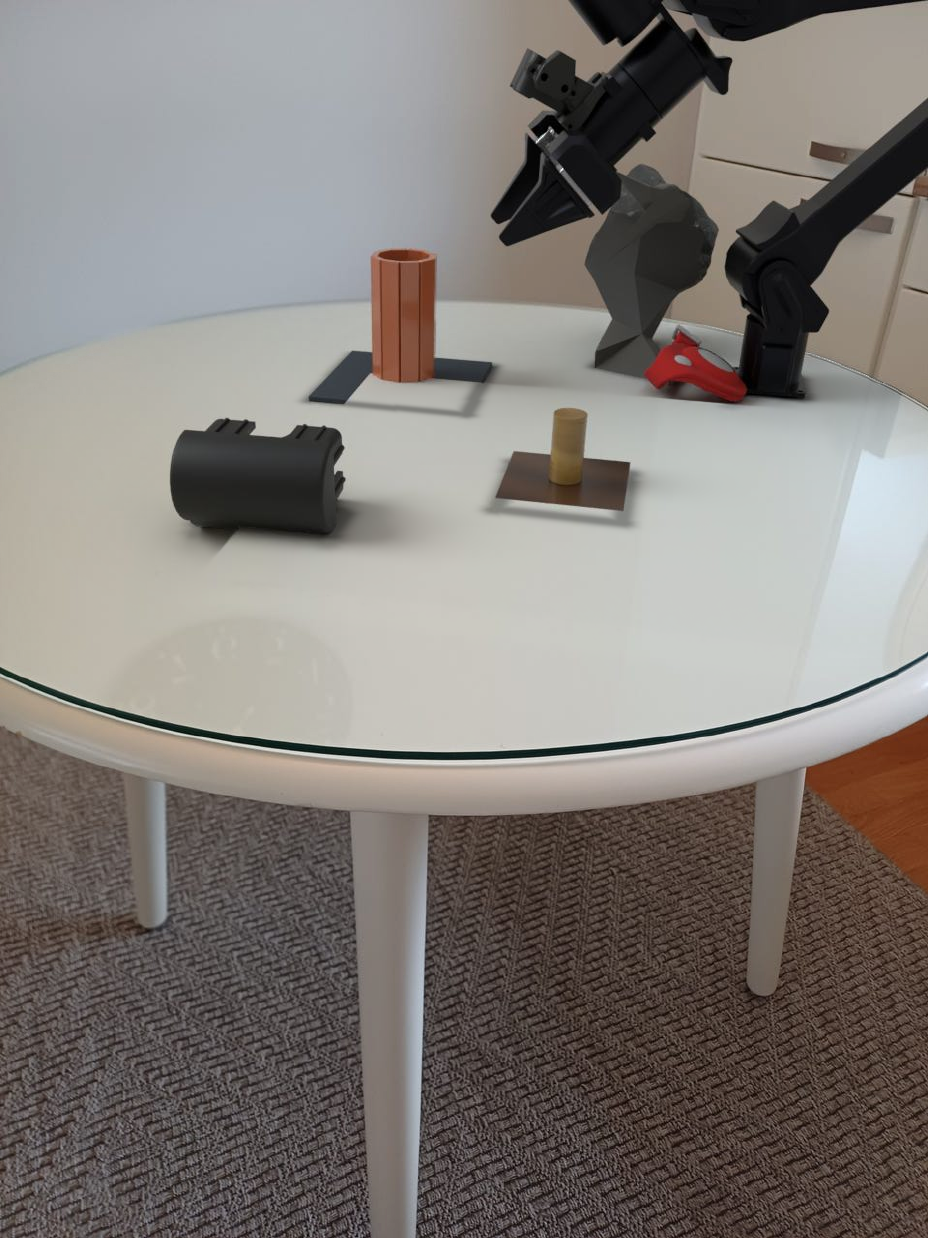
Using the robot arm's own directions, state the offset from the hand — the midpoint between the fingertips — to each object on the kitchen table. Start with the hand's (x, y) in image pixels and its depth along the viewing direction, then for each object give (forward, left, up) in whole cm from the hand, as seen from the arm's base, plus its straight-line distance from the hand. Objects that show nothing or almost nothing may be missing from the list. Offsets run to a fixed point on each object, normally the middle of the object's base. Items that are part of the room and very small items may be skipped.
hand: (497, 230), depth 94 cm
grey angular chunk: (-14, +13, -14) cm, 24 cm away
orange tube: (+2, -8, -13) cm, 15 cm away
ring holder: (+23, +9, -14) cm, 28 cm away
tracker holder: (-4, +18, -13) cm, 23 cm away
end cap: (+34, -10, -14) cm, 38 cm away
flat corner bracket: (+2, -8, -14) cm, 16 cm away
